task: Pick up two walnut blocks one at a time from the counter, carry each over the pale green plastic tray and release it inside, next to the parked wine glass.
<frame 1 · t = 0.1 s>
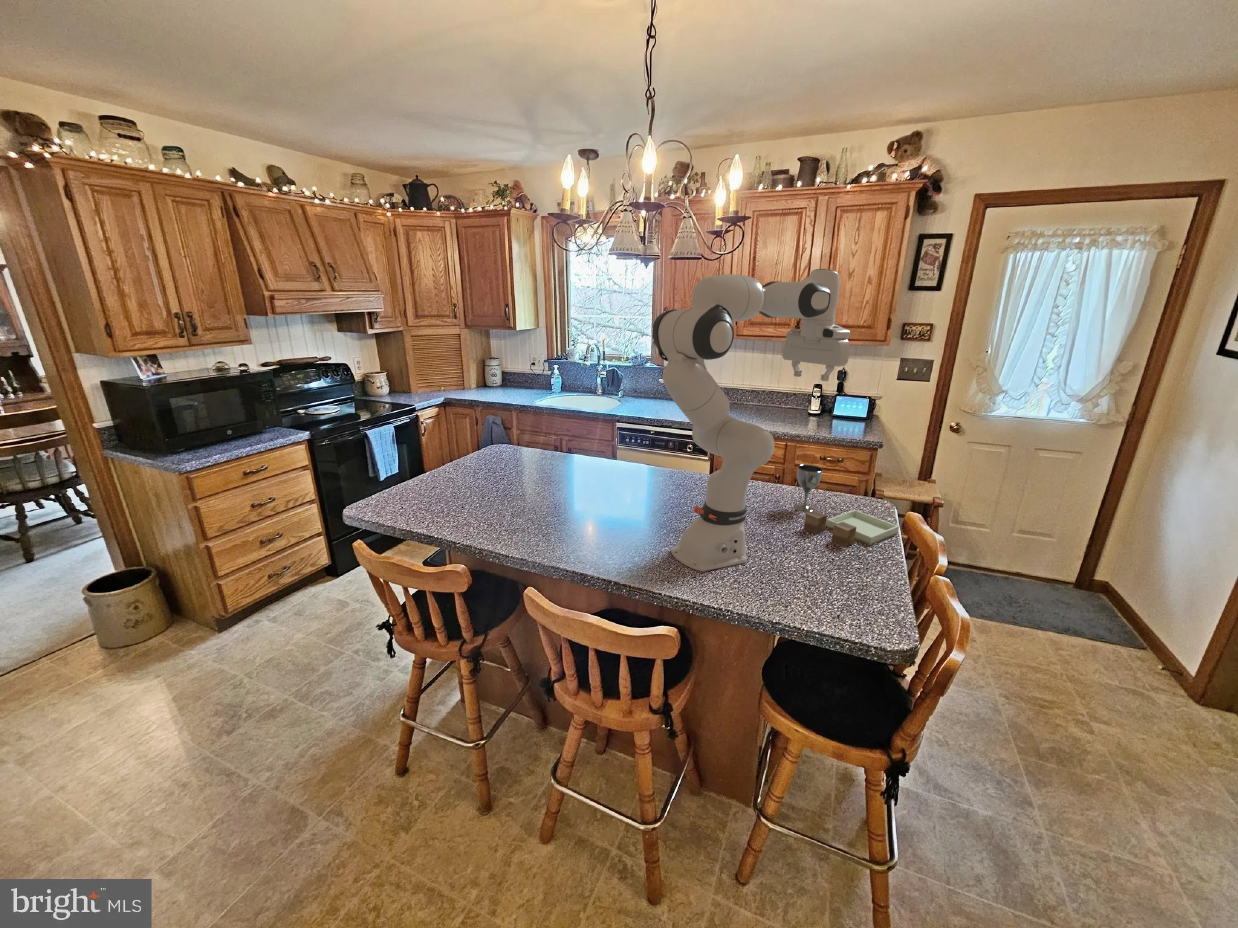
hand: (810, 378, 147), 48 cm above the countertop, fingers open, 8 cm apart
block a: (814, 529, 159), on the countertop
wine glass: (804, 508, 176), on the countertop
tray: (861, 529, 160), on the countertop
block b: (842, 542, 151), on the countertop
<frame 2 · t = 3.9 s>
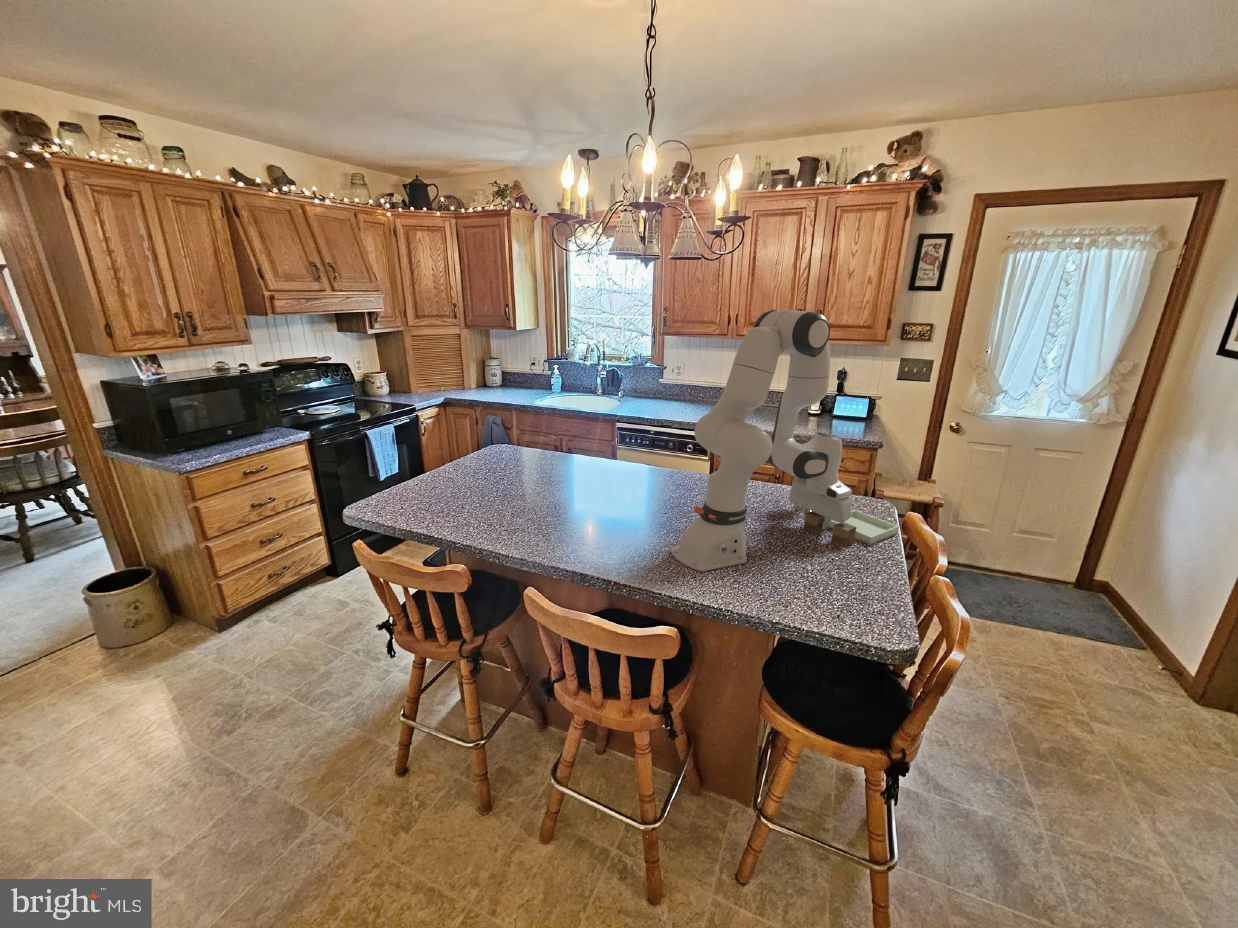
hand: (815, 524, 159), 2 cm above the countertop, fingers closed on block a, 4 cm apart
block a: (814, 529, 159), on the countertop, touching gripper
everything else where it was.
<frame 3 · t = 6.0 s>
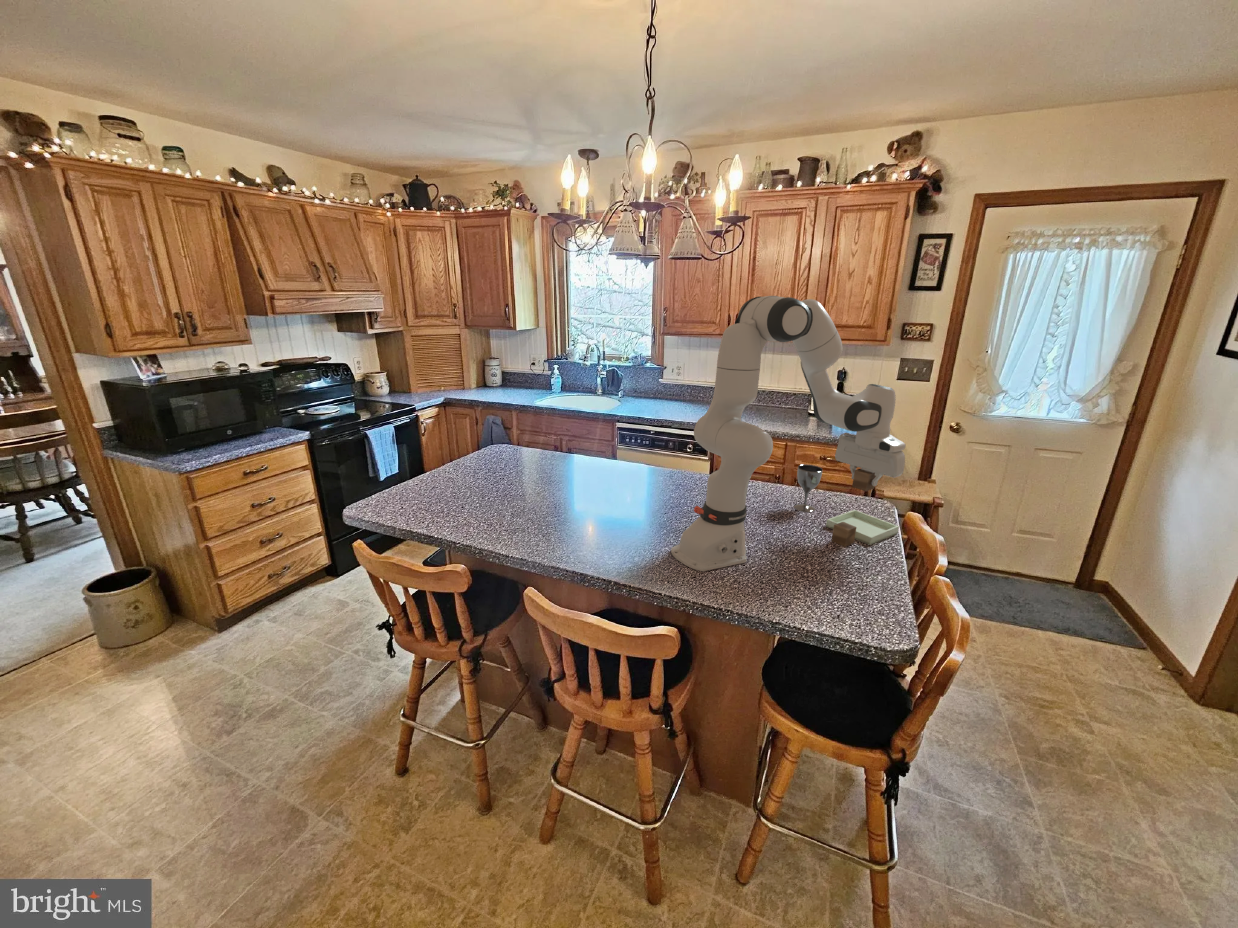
hand: (863, 482, 152), 17 cm above the countertop, fingers closed on block a, 4 cm apart
block a: (863, 487, 153), point 15 cm above the countertop, touching gripper
everything else where it was.
when the fingers open (4 cm above the countertop, at t = 8.6 s): block a drops 2 cm, resting on tray.
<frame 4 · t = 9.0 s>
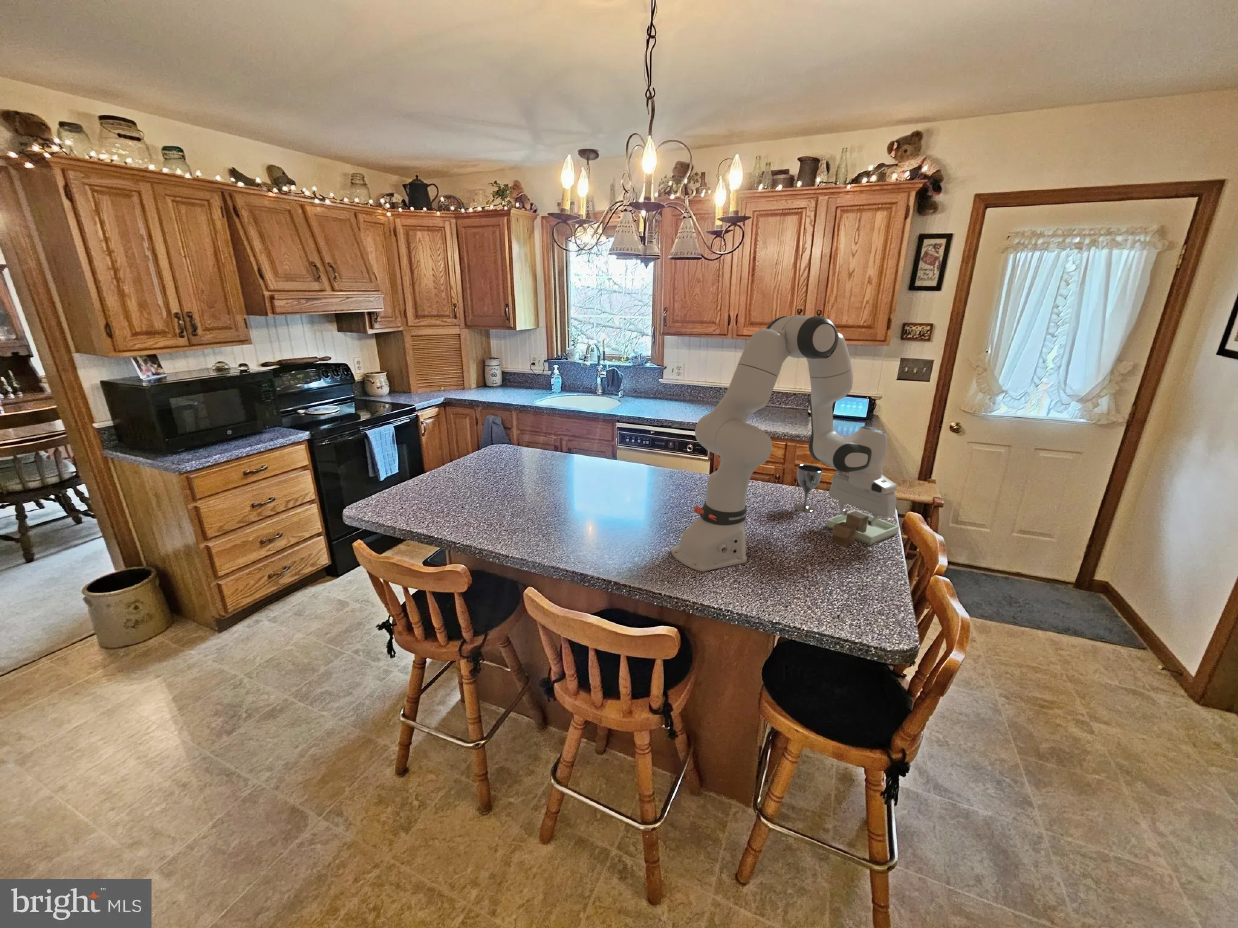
hand: (856, 520, 156), 4 cm above the countertop, fingers open, 8 cm apart
block a: (855, 530, 158), point 1 cm above the countertop, touching tray
everything else where it was.
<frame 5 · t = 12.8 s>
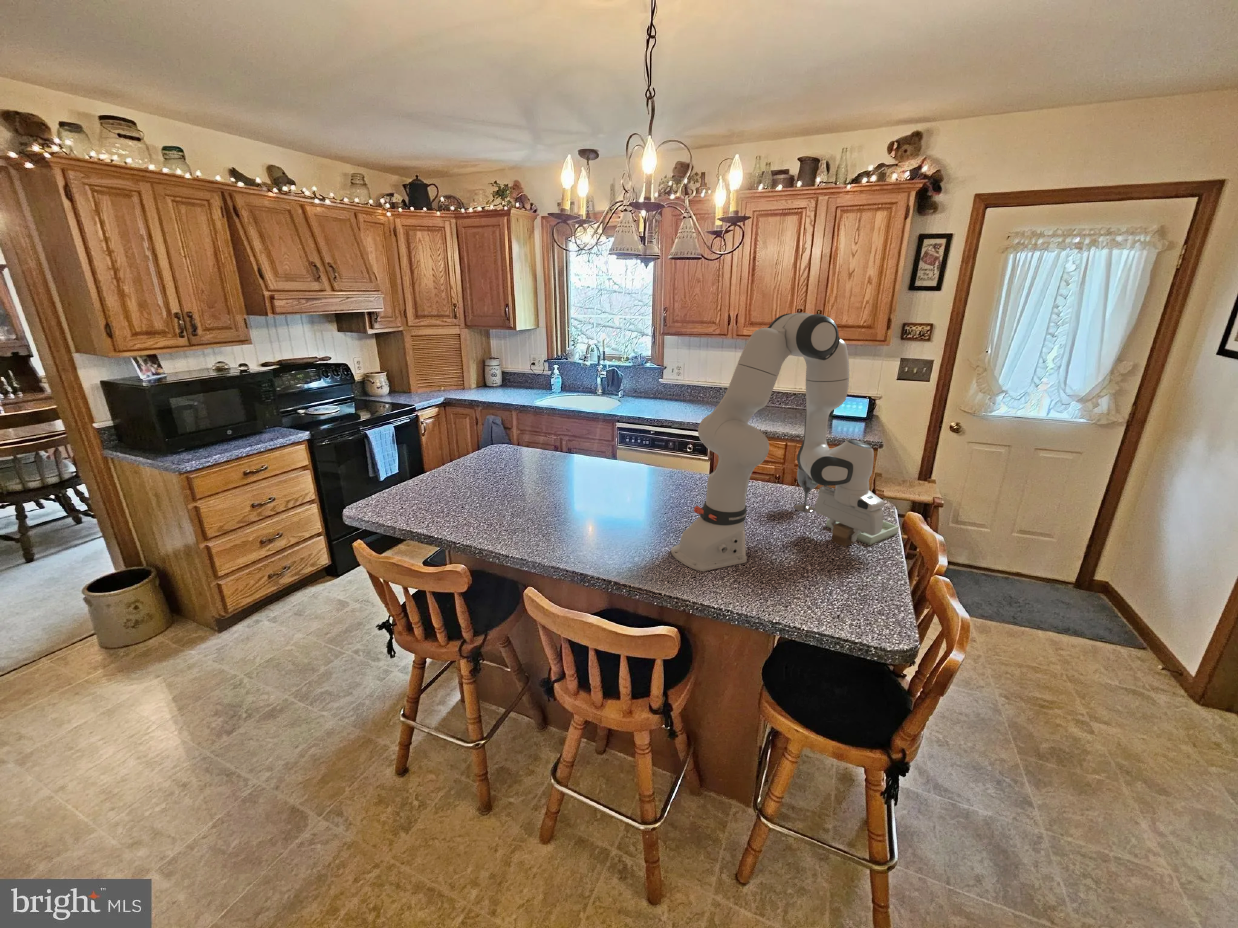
hand: (843, 536, 151), 2 cm above the countertop, fingers closed on block b, 4 cm apart
block b: (842, 542, 151), on the countertop, touching gripper
everything else where it was.
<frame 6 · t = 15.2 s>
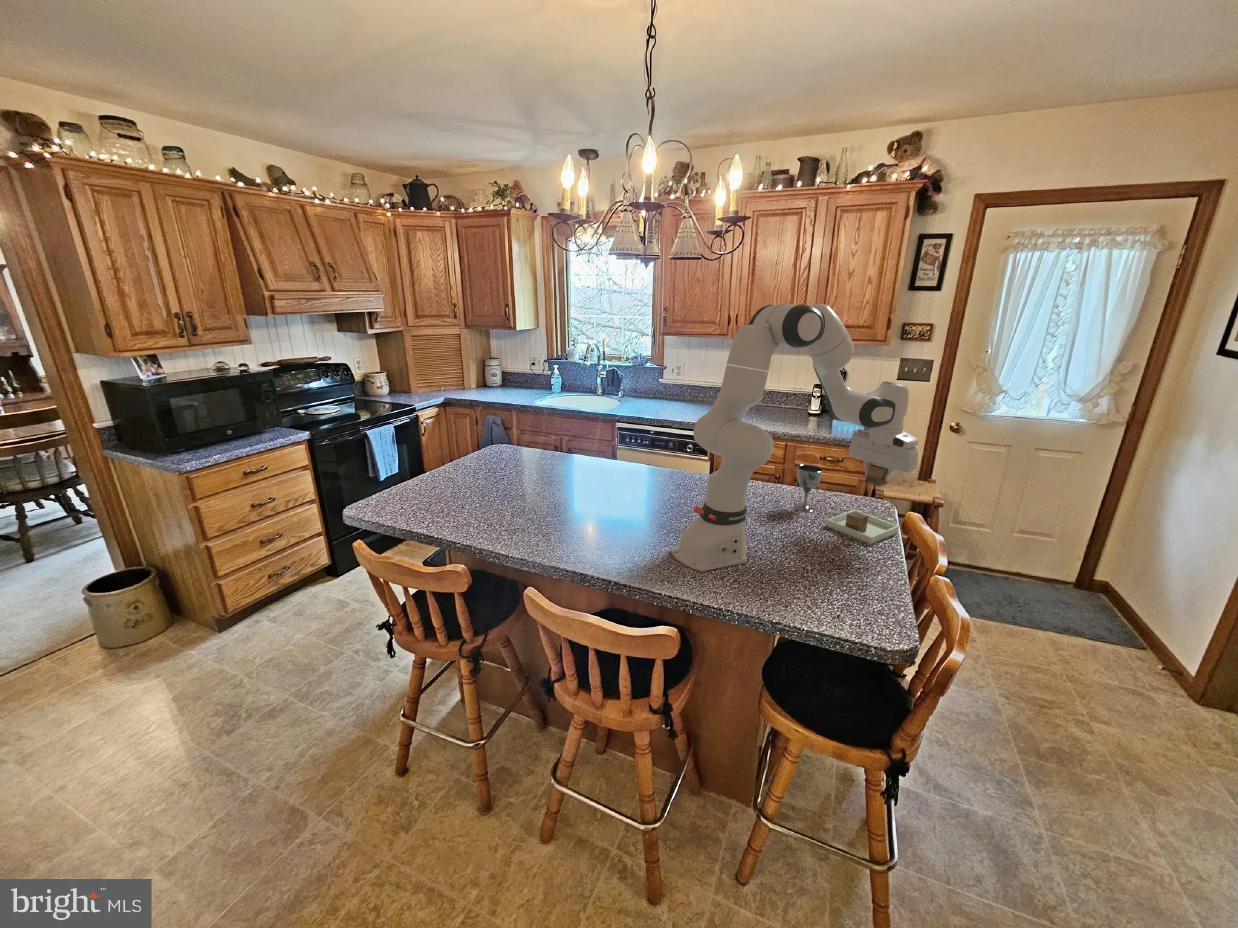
hand: (877, 477, 156), 17 cm above the countertop, fingers closed on block b, 4 cm apart
block b: (876, 482, 157), point 15 cm above the countertop, touching gripper
everything else where it was.
when the fingers open (4 cm above the countertop, at t = 17.9 s): block b drops 2 cm, resting on tray.
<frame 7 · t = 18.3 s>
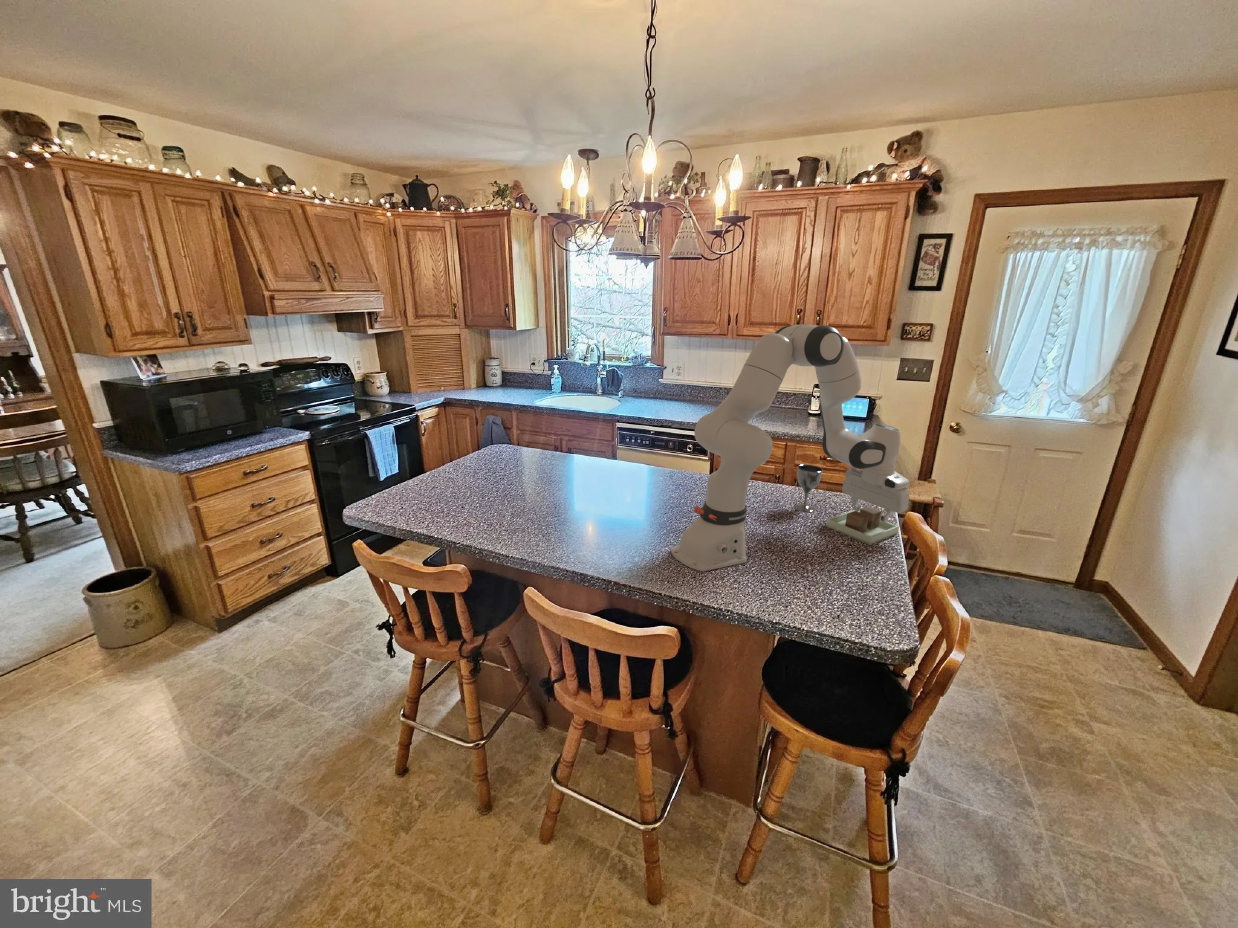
hand: (869, 515, 160), 4 cm above the countertop, fingers open, 8 cm apart
block b: (867, 525, 161), point 1 cm above the countertop, touching tray
everything else where it was.
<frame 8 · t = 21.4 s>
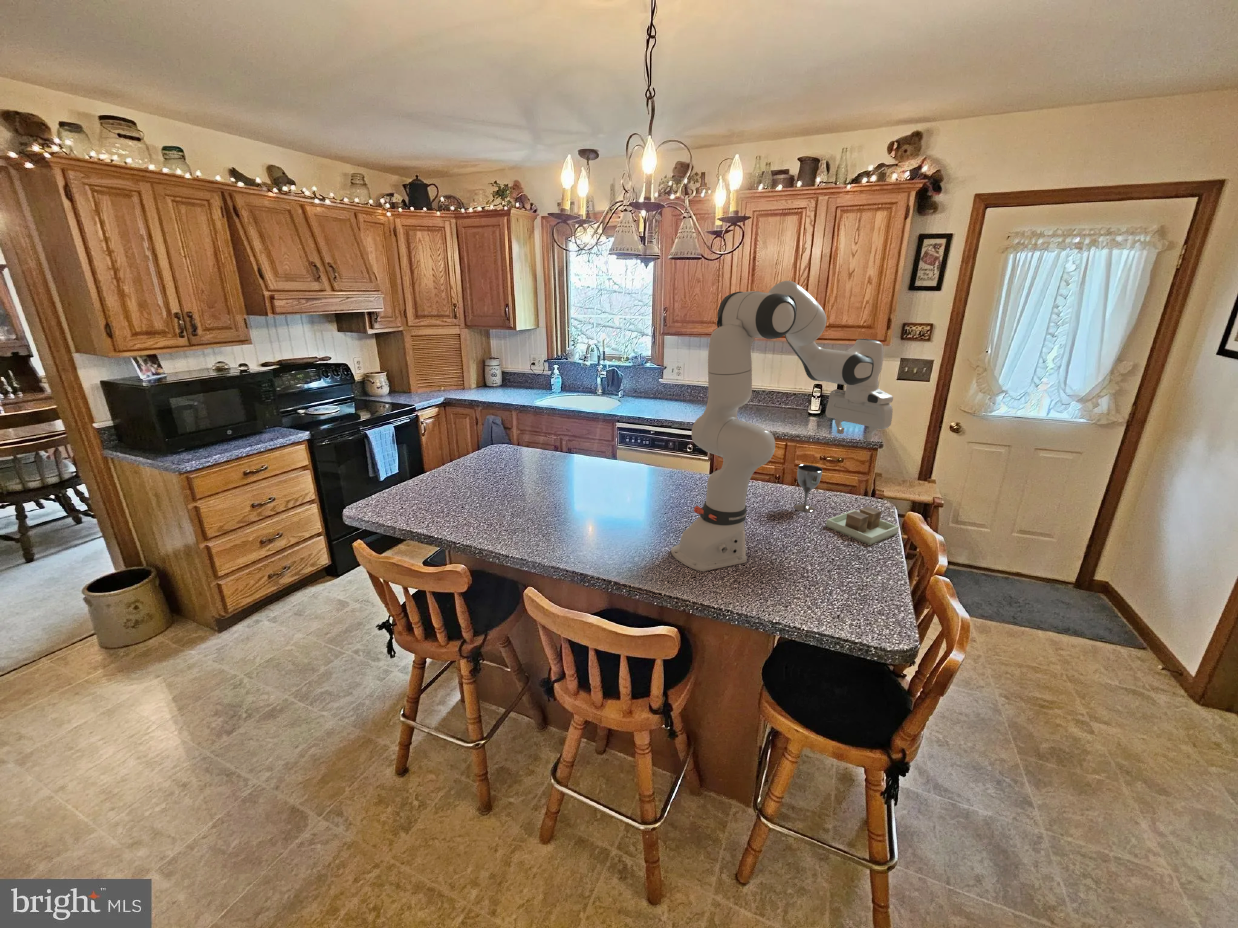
hand: (853, 436, 157), 29 cm above the countertop, fingers open, 8 cm apart
nothing on the countertop moved.
at the end: block a inside the target area on the tray (3.5 cm from its centre), point 0.6 cm above the tray's base; block b inside the target area on the tray (3.5 cm from its centre), point 0.6 cm above the tray's base; the gripper is holding nothing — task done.
